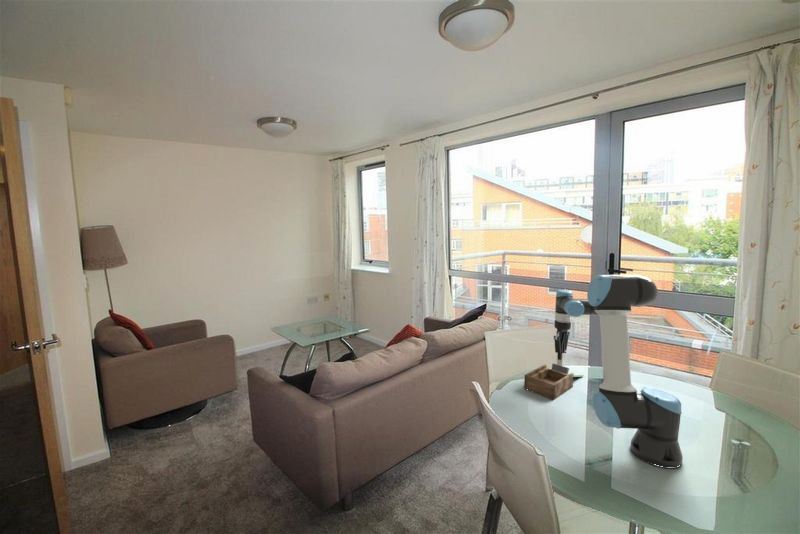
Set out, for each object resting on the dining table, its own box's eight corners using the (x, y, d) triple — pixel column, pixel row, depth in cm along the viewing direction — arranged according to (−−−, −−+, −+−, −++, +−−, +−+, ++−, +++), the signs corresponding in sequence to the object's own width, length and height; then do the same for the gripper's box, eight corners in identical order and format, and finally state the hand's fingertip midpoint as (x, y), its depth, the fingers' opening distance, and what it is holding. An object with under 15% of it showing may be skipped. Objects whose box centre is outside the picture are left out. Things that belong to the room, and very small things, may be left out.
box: (553, 400, 167) (554, 385, 166) (524, 388, 179) (524, 374, 178) (572, 387, 180) (573, 373, 179) (544, 377, 192) (544, 364, 191)
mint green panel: (570, 376, 181) (571, 369, 181) (546, 369, 190) (547, 362, 190) (583, 376, 192) (584, 369, 192) (560, 369, 202) (561, 362, 202)
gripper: (564, 324, 175) (561, 370, 179) (575, 319, 184) (573, 363, 187) (549, 321, 181) (546, 366, 184) (561, 316, 190) (558, 359, 193)
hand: (560, 365), depth 186 cm, fingers closed
